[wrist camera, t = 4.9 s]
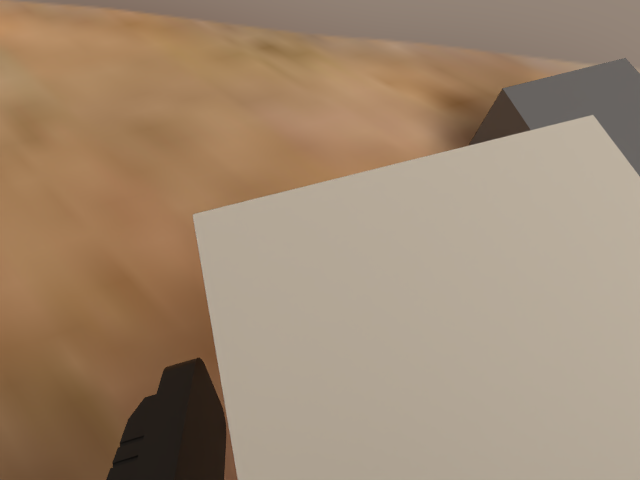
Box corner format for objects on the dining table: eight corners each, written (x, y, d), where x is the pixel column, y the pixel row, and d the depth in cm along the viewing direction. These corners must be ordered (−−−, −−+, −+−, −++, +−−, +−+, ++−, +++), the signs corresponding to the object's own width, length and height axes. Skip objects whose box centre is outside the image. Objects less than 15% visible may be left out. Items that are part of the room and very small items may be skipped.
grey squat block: (525, 251, 17) (584, 210, 13) (466, 148, 19) (502, 88, 15) (637, 216, 17) (723, 168, 14) (567, 121, 19) (625, 58, 16)
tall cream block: (319, 477, 13) (321, 965, 2) (288, 351, 15) (193, 214, 4) (436, 437, 13) (984, 635, 2) (393, 320, 15) (592, 114, 4)
